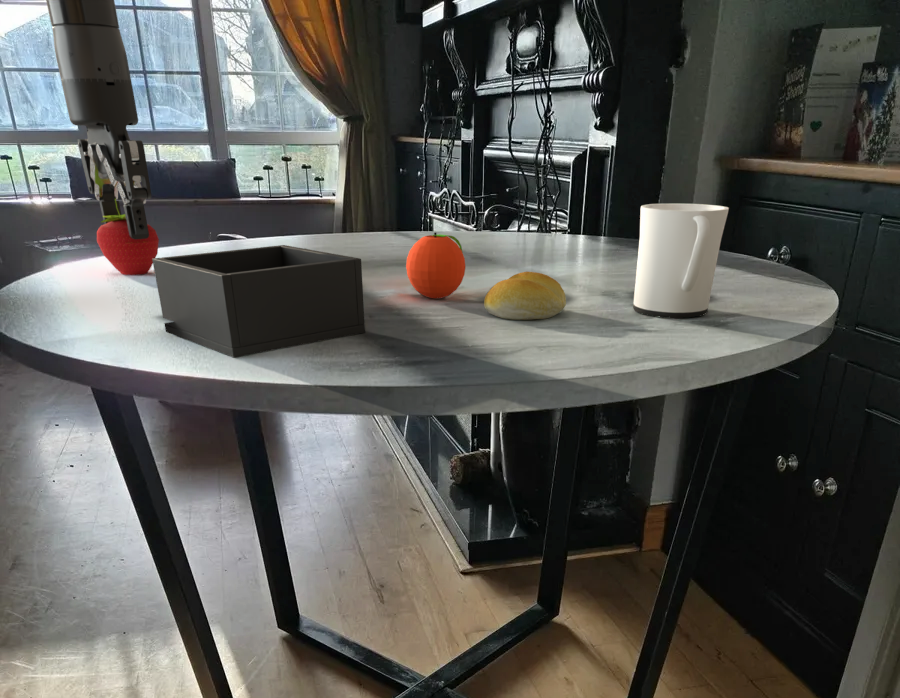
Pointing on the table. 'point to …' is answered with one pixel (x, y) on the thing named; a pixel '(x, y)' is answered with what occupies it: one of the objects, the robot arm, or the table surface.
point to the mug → (677, 258)
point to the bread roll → (526, 297)
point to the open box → (260, 298)
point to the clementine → (436, 265)
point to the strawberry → (126, 246)
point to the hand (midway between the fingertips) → (127, 235)
